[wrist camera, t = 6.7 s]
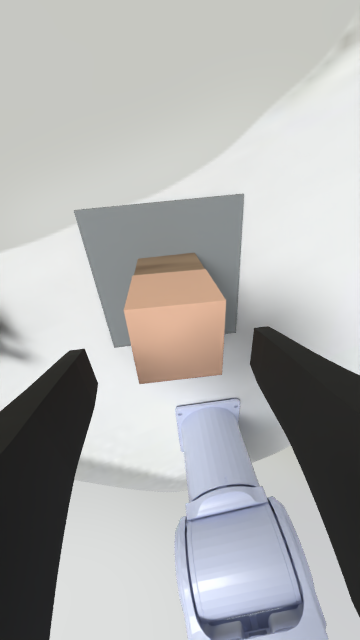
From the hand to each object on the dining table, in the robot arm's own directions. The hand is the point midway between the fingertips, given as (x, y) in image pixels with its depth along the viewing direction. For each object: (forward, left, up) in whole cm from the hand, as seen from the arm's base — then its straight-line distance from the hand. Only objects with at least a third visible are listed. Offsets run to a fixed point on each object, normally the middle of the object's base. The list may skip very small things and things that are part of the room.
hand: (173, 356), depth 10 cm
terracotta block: (0, 0, -6) cm, 6 cm away
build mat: (-1, 0, -11) cm, 11 cm away
